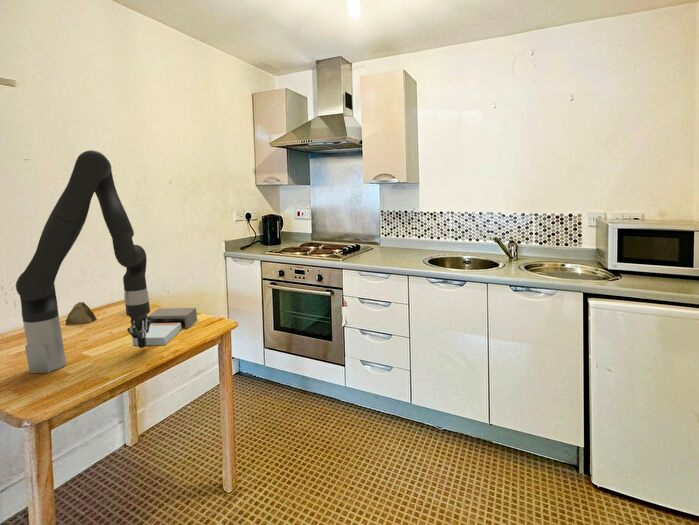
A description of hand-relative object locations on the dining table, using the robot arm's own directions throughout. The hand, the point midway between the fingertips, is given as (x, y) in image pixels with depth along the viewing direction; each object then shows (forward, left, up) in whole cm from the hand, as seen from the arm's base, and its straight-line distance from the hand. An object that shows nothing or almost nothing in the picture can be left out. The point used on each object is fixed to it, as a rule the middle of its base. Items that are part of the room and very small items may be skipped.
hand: (142, 346), depth 143 cm
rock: (+33, +43, -2) cm, 54 cm away
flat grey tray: (+13, 0, -2) cm, 13 cm away
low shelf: (+28, 0, -2) cm, 28 cm away
